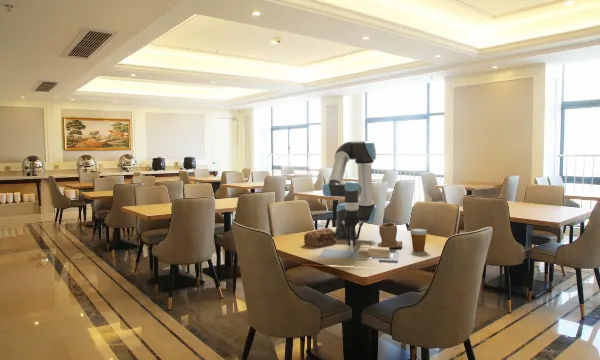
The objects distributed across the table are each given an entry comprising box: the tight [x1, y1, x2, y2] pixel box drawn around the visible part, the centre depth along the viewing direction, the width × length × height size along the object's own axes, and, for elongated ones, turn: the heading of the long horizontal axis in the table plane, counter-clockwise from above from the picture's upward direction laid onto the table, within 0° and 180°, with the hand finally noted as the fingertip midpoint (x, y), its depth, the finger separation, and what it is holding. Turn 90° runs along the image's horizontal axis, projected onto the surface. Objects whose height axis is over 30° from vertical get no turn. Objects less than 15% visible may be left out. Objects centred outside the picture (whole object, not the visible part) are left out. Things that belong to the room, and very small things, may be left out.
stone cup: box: [377, 222, 403, 249], centre depth 258 cm, size 15×12×15 cm
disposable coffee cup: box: [409, 228, 428, 252], centre depth 251 cm, size 10×10×12 cm
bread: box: [303, 227, 337, 248], centre depth 266 cm, size 19×11×10 cm, turn 129°
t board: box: [318, 248, 399, 263], centre depth 239 cm, size 20×42×1 cm, turn 78°
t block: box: [358, 244, 390, 260], centre depth 237 cm, size 16×16×4 cm
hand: (351, 251), depth 240 cm, fingers closed
